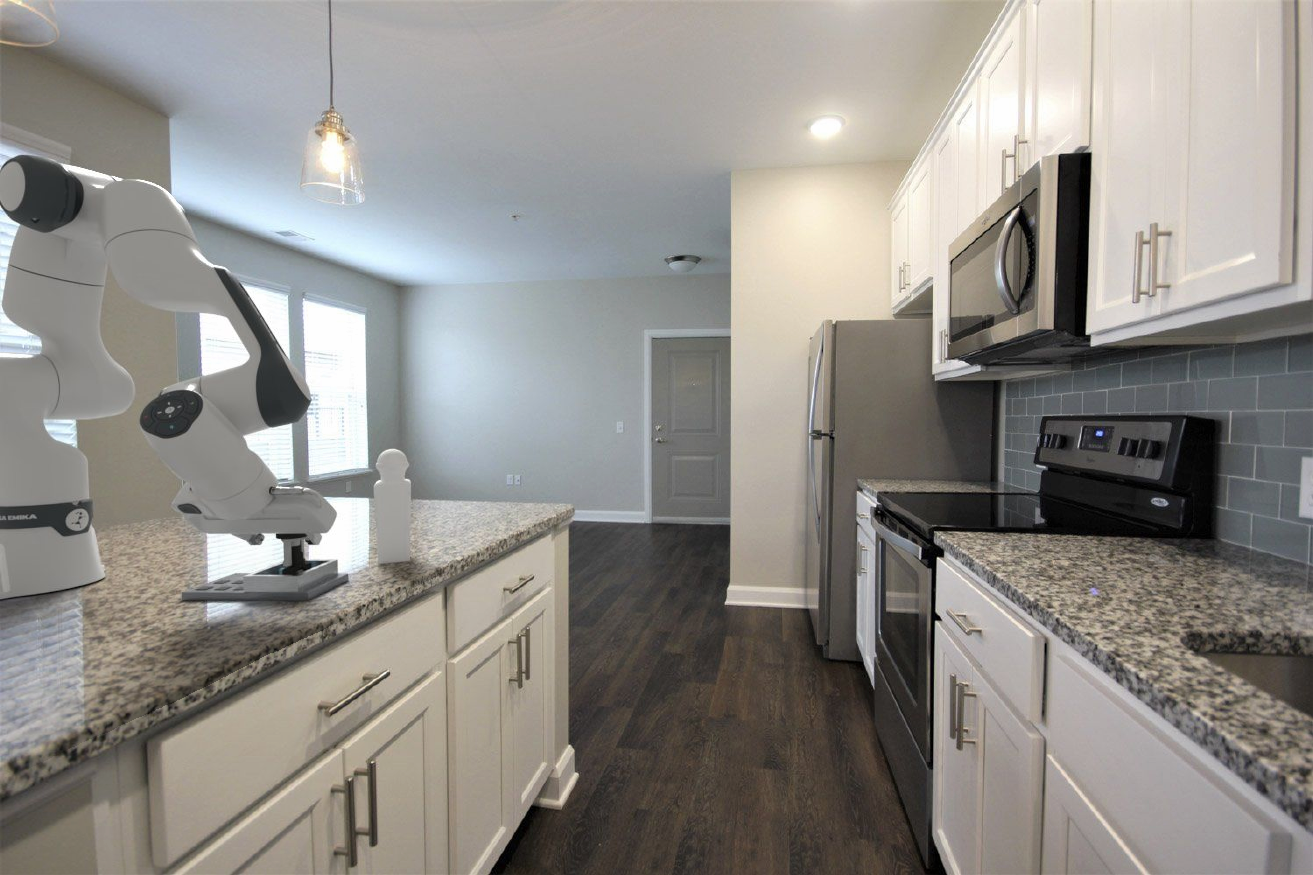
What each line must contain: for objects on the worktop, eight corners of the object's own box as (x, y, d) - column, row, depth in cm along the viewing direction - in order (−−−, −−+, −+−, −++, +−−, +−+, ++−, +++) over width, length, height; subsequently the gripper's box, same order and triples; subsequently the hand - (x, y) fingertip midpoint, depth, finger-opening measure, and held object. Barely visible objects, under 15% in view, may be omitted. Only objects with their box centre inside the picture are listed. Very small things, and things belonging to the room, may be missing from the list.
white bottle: (412, 561, 113) (410, 449, 112) (375, 565, 110) (372, 450, 109) (412, 554, 119) (410, 447, 118) (377, 557, 116) (374, 448, 115)
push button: (292, 589, 91) (290, 526, 90) (260, 588, 91) (259, 525, 91) (321, 577, 97) (319, 518, 97) (292, 576, 98) (290, 518, 98)
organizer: (181, 599, 90) (181, 576, 89) (235, 579, 101) (234, 558, 100) (308, 600, 89) (307, 576, 89) (348, 580, 100) (347, 559, 100)
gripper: (320, 471, 85) (358, 524, 95) (184, 472, 85) (236, 525, 95) (301, 506, 81) (343, 558, 91) (158, 506, 81) (215, 558, 91)
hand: (287, 541), depth 93 cm, fingers open, 8 cm apart
